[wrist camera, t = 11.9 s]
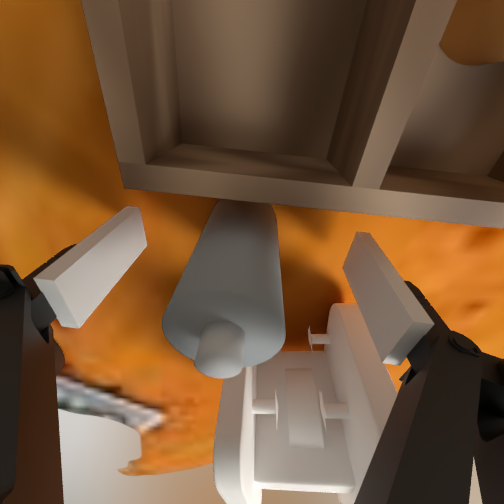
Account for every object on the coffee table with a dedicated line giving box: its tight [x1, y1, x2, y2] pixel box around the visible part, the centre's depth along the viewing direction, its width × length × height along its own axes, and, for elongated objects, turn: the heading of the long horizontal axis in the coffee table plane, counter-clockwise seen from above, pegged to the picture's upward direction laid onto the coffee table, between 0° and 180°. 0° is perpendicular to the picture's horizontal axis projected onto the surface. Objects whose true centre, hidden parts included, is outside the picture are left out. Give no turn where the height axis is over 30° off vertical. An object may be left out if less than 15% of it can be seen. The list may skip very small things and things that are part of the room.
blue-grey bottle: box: [162, 199, 286, 378], centre depth 12 cm, size 5×5×10 cm
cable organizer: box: [213, 303, 398, 504], centre depth 19 cm, size 15×11×12 cm
